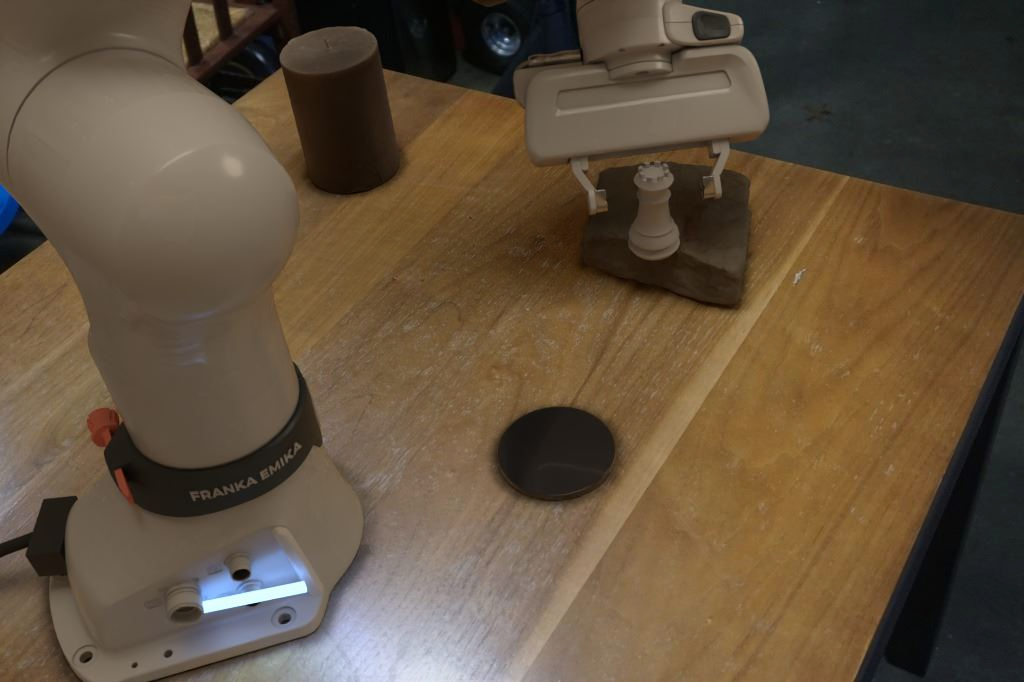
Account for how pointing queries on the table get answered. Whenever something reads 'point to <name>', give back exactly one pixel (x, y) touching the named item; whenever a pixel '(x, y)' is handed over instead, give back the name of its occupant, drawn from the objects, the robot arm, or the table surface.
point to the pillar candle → (341, 108)
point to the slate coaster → (556, 453)
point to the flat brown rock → (702, 233)
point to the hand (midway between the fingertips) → (655, 206)
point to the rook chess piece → (653, 214)
